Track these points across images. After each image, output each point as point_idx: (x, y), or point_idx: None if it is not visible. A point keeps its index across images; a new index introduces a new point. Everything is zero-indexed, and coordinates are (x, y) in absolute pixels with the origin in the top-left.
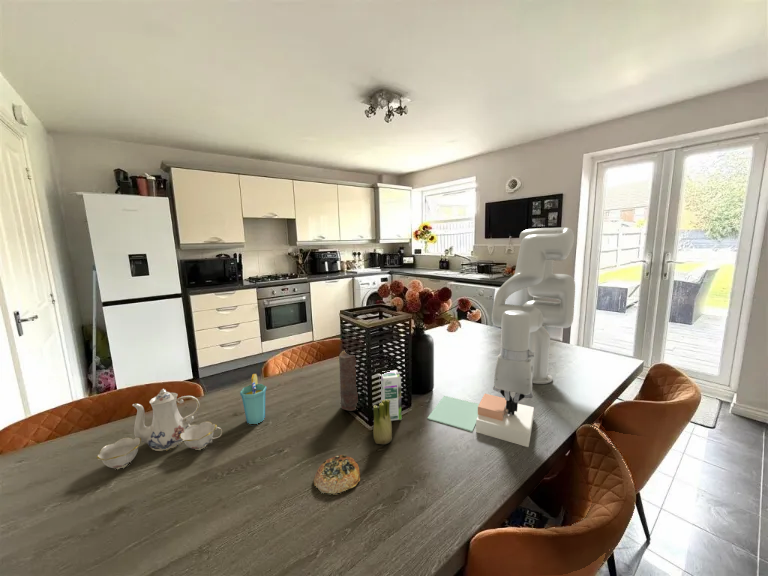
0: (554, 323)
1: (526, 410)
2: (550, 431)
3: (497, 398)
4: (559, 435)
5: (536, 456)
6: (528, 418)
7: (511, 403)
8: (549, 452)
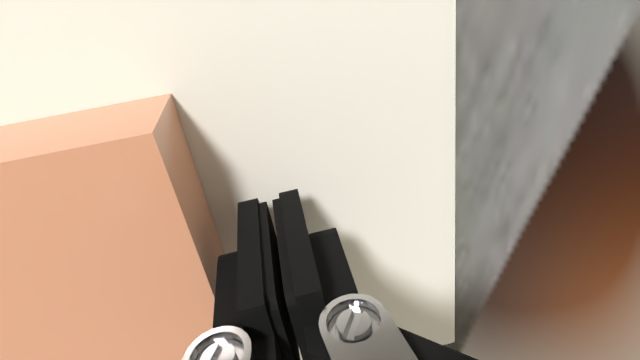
0: None
1: (385, 41)
2: (535, 19)
3: (30, 220)
4: (591, 32)
5: (458, 304)
6: (426, 179)
7: (291, 331)
8: (515, 241)
